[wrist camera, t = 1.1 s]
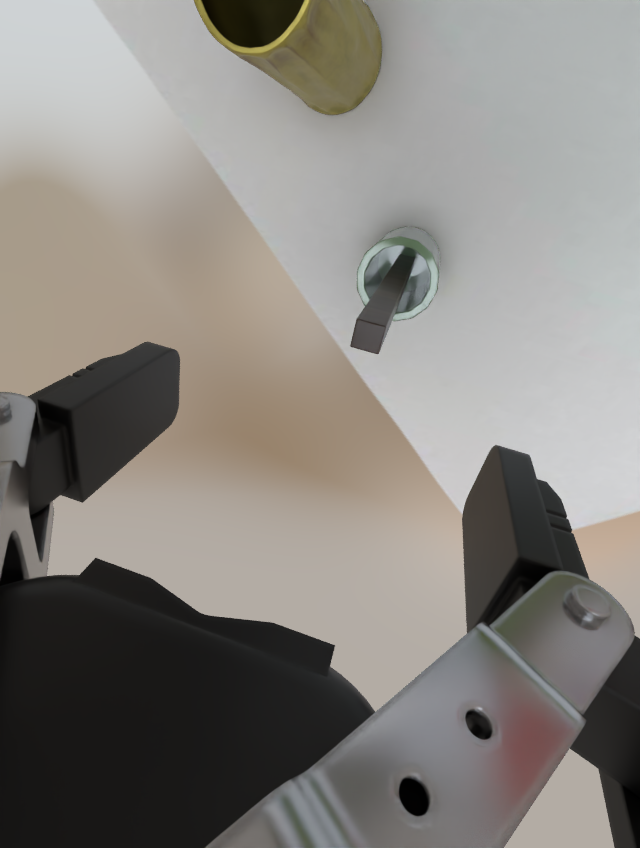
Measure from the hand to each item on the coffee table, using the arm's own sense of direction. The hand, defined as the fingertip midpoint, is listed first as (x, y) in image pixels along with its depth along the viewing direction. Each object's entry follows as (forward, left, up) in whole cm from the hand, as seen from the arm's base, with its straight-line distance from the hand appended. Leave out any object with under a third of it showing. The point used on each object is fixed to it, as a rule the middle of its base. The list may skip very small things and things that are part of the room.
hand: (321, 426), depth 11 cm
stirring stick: (0, 0, -26) cm, 26 cm away
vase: (-11, -8, -26) cm, 30 cm away
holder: (0, 0, -26) cm, 26 cm away
